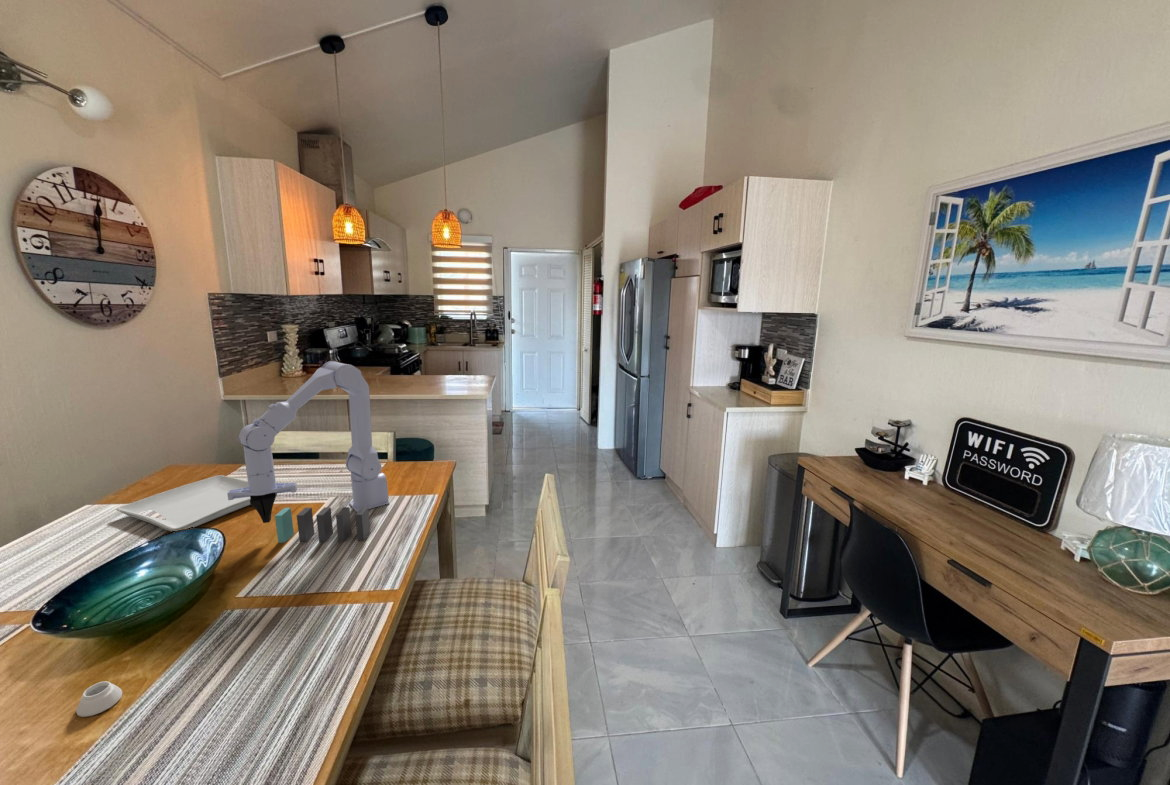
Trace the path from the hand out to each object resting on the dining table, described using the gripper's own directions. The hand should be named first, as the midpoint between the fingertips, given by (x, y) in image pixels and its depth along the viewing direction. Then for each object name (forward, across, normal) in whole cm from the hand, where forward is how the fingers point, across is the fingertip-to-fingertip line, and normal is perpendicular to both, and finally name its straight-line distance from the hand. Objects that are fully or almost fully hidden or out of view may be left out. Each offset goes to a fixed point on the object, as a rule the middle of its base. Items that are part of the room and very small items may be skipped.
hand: (267, 521), depth 122 cm
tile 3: (+5, -14, +4) cm, 15 cm away
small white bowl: (+5, +13, +49) cm, 51 cm away
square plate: (+6, +22, -26) cm, 35 cm away
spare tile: (+5, -4, +1) cm, 6 cm away
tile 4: (+5, -9, +3) cm, 11 cm away
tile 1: (+5, -23, +7) cm, 24 cm away
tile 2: (+5, -18, +6) cm, 20 cm away
